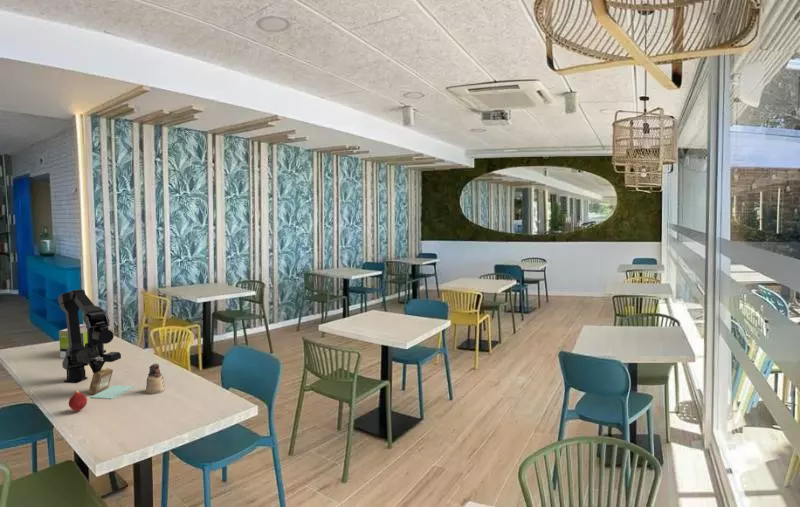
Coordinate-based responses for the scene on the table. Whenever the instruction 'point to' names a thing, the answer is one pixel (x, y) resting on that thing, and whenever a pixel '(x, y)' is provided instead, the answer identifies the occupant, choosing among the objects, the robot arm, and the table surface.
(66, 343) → the tea box
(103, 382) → the menu stand
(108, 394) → the mat
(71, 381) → the robot arm
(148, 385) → the figurine
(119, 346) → the table surface
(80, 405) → the onion
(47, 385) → the table surface
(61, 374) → the table surface
